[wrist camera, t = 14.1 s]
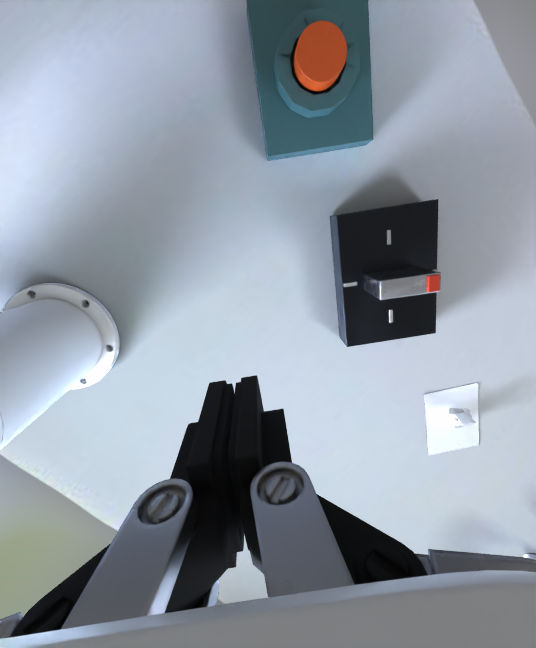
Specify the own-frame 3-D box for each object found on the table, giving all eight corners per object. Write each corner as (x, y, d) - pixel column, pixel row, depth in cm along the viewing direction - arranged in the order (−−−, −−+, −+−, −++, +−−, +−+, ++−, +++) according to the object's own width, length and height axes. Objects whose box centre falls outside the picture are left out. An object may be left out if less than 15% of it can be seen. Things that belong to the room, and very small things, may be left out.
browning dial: (364, 290, 32) (381, 301, 28) (363, 273, 32) (381, 281, 27) (415, 282, 32) (442, 292, 28) (416, 265, 32) (442, 272, 27)
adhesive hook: (464, 402, 41) (481, 416, 38) (464, 419, 42) (481, 434, 38) (441, 407, 41) (456, 422, 38) (442, 423, 42) (457, 439, 39)
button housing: (246, 11, 27) (245, -24, 23) (358, -7, 27) (375, -45, 23) (267, 161, 31) (268, 152, 27) (365, 145, 31) (381, 134, 27)
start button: (290, 37, 25) (293, 24, 23) (339, 29, 25) (345, 15, 23) (296, 95, 26) (299, 86, 25) (343, 87, 26) (348, 78, 25)
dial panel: (329, 216, 33) (337, 215, 30) (422, 201, 33) (439, 199, 30) (339, 337, 37) (347, 347, 34) (421, 324, 37) (436, 333, 34)
